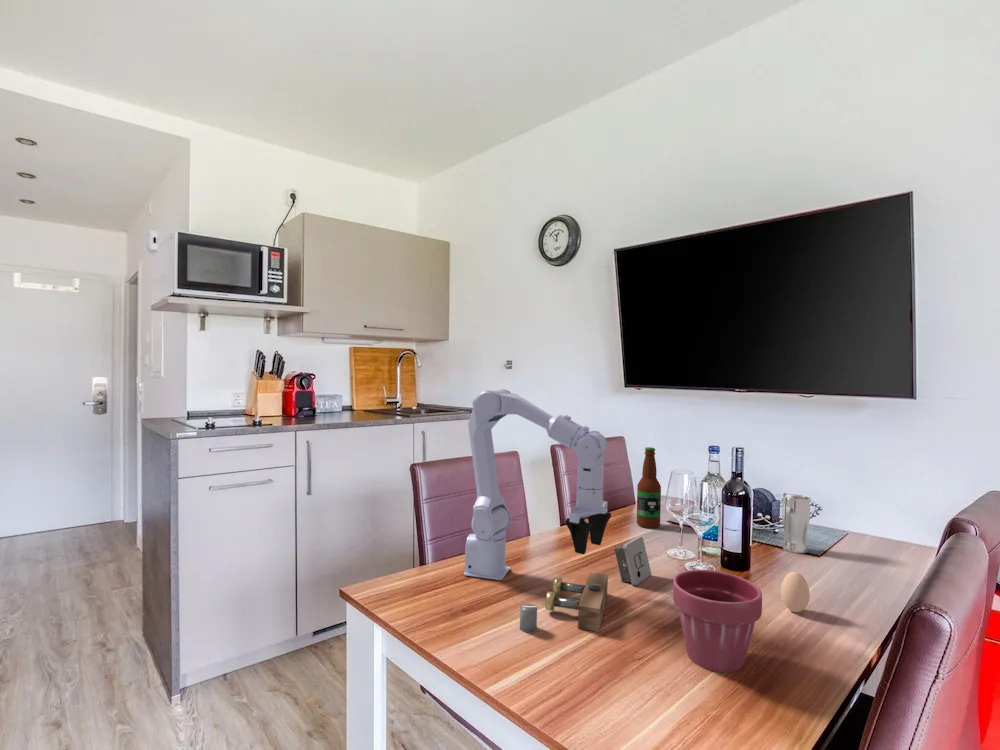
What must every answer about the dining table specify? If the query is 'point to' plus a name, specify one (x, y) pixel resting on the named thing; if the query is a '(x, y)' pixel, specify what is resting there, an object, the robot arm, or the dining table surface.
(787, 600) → the egg
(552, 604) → the near plunger
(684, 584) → the plant pot
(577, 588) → the far plunger
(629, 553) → the electrical switch
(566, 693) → the dining table surface
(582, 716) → the dining table surface
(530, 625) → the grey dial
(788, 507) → the beer glass
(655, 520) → the bottle
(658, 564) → the dining table surface
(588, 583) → the wooden board with knobs
